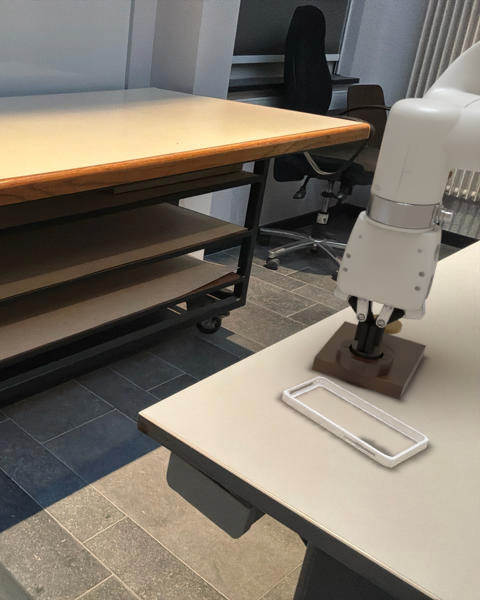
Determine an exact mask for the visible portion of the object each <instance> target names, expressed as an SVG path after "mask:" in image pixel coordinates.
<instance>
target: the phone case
mask: <svg viewBox="0 0 480 600" xmlns="http://www.w3.org/2000/svg"><path fill="white" fill-rule="evenodd" d="M311 383H312V384H311ZM309 384H311V385H309ZM307 385H308V386H307ZM302 387H303V388H302ZM319 387H322V388H324V389H326V390H328V391H330V392H331V393H333V394H335V395H336V396H338V397H340V398H341V399H343V400H345V401H346V402H348V403H349V404H352V405H353V406H354V407H356V408H358V409H360V410H362V411H364V412H366V414H368V415H370V416H372V417H374V418H375V419H377V420H379V421H380V422H382V423H384V424H385V425H387V426H389V427H391V428H392V429H394V430H396V431H398V432H399V433H401V434H403V435H404V436H406V437H408V439H409V438H410V439H411V440H413V441H414V442H416V443H415V444H414V445H412V446H410V447H408V448H407V449H405V450H403V451H401V452H399V453H397V454H396V455H394V456H389V455H387V454H385V453H383V452H381V451H379V450H378V449H377V448H375V447H373V446H372V445H371V444H369V443H367V442H366V441H364V440H362V439H361V438H359V437H357V436H356V435H355V434H353V433H352V432H349V431H348V430H347V429H345V428H343V427H342V426H340V425H338V424H337V423H335V422H334V421H332V420H331V419H329V418H328V417H326V416H324V415H322V414H321V413H319V412H317V411H316V410H315V409H313V408H311V406H310V407H309V406H308V405H307V404H305V403H304V402H302V401H300V400H299V399H297V398H295V397H297V396H300V395H303V394H304V393H307V392H309V391H311V390H314V389H316V388H319ZM300 388H301V389H300ZM297 389H299V390H297ZM295 390H296V391H295ZM293 391H294V392H293ZM281 400H282V401H283V402H284V403H285V404H287V405H288V406H289V407H291V408H293V409H295V410H296V411H297V412H299V413H301V414H302V415H303V416H305V417H307V418H308V419H310V420H311V421H313V422H315V424H317V425H319V426H321V427H322V428H324V429H325V430H327V431H329V432H330V433H332V434H333V435H335V436H336V437H338V438H340V439H341V440H343V441H344V442H346V443H347V444H349V445H350V446H352V447H354V448H355V449H357V450H358V451H359V452H362V453H363V454H365V455H366V456H367V457H369V458H371V459H373V460H374V461H375V462H377V463H379V464H380V465H382V466H383V467H386V468H390V469H392V468H394V467H395V466H397V465H399V464H400V463H402V462H404V461H406V460H408V459H409V458H411V457H413V456H414V455H416V454H418V453H420V452H422V451H423V450H425V449H427V446H428V444H429V440H430V439H429V438H428V436H427V435H425V434H423V433H422V432H420V431H419V430H417V429H415V428H413V427H411V426H409V425H408V424H406V423H405V422H403V421H401V420H399V419H398V418H396V417H394V416H393V415H391V414H389V413H388V412H386V411H384V410H382V409H380V408H378V407H377V406H375V405H373V404H371V402H368V401H366V400H364V399H363V398H361V397H360V396H358V395H356V394H354V393H352V392H351V391H349V390H347V389H346V388H344V387H342V386H340V385H338V384H336V383H335V382H334V381H332V380H330V379H328V378H326V377H323V376H320V375H319V376H316V377H313V378H311V379H309V380H306V381H303V382H301V383H299V384H297V385H295V386H292V387H290V388H287V389H284V390H283V392H282V397H281ZM348 438H349V439H348ZM351 440H352V441H351ZM353 441H354V442H355V443H354V442H353ZM356 443H357V444H356ZM359 445H360V446H359ZM362 447H363V448H362ZM364 448H365V449H366V450H365V449H364ZM367 450H368V451H367ZM370 452H371V453H370ZM373 454H374V455H373Z"/></svg>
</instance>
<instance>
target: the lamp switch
mask: <svg viewBox="0 0 480 600" xmlns="http://www.w3.org/2000/svg"><path fill="white" fill-rule="evenodd" d="M357 345H358V341H357V342H354V343H353V344H352V347H351V351H350V352H351V353H353V354H354V355H356V356H358V357H361V358H364V359H370V360H377V359H380V357H381V354H382V350H381V348H380V347H379V348H378V347H374V348H373V349H372V351H371V352H370V354H367V353H365V352H364V350H363V351H358V350H356V349H357Z"/></svg>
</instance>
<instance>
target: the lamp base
mask: <svg viewBox="0 0 480 600" xmlns="http://www.w3.org/2000/svg"><path fill="white" fill-rule="evenodd" d="M357 325H358V324H356V323H352V322H349V321H346V320H345V321H343V323H342V324H341V325H340V326H339V327H338V329H337V330H336V331H335V332H334V333H333V335H332V336H331V337H330V338H329V339H328V341H327V342H326V343H325V344H324V345H323V346H322V347H321V349H319V351H318V352H317V354H316V355H314V358H313V363H312V367H311V370H312V371H315V372H318V373H319V374H320V373H321V374H323V375H327V376H330V377H332V378H335V379H338V380H340V381H344V382H347V383H349V384H352V385H356V386H358V387H361V388H363V389H367V390H370V391H373V392H375V393H379V394H382V395H385V396H388V397H391V398H394V399H396V400H399V401H400V400H401V398H402V396H403V395H404V393H405V391H406V389H407V387H408V385H409V383H410V382H411V380H412V378H413V376H414V374H415V372H416V370H417V369H418V367H419V365H420V363H421V362H422V359H423V357H424V354H425V351H426V347H427V345H426V344H422V343H419V342H416V341H413V340H410V339H407V338H403V337H399V336H396V335H394V334H384V335H383V338H382V342H381V344H380V346H379V347H380V348H381V350H382V354H381V357H380V359H377V360H370V359H364V358H361V357H358V356H356V355H354V354H353V353H351V352H350V351H351V347H352V344H353V343H354V342H357V341H356V340H354V337H355V333H356V329H357Z"/></svg>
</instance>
